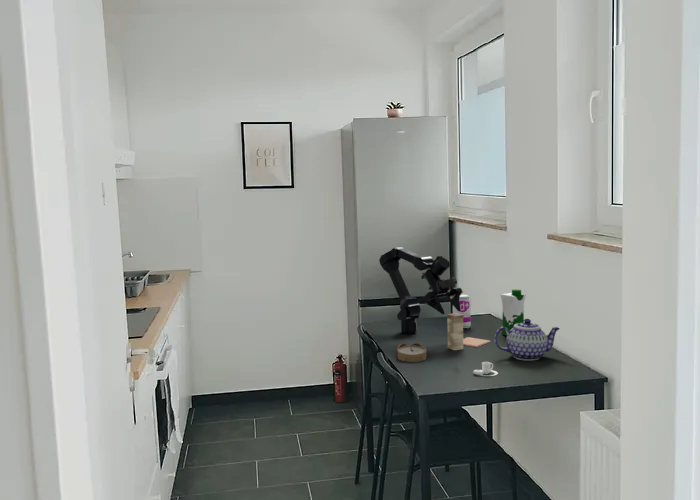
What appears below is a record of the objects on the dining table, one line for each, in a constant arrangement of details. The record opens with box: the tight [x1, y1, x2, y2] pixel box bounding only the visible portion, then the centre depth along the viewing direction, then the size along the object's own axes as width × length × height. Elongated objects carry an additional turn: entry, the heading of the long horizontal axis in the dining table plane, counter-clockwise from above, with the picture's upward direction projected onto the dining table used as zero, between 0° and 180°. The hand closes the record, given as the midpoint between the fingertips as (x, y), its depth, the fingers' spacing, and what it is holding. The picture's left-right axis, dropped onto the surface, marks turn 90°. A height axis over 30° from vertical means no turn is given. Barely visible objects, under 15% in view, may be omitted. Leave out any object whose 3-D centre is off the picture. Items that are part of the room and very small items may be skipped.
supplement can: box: [452, 293, 472, 329], centre depth 308 cm, size 8×8×15 cm
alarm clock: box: [396, 342, 427, 363], centre depth 259 cm, size 11×5×15 cm
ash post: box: [446, 312, 464, 351], centre depth 270 cm, size 5×5×14 cm
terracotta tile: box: [463, 336, 491, 348], centre depth 279 cm, size 11×11×1 cm
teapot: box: [493, 318, 561, 361], centre depth 254 cm, size 25×15×15 cm, turn 89°
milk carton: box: [500, 289, 526, 336], centre depth 291 cm, size 9×9×20 cm
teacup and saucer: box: [472, 361, 499, 377], centre depth 235 cm, size 9×8×4 cm
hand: (451, 312), depth 277 cm, fingers open, 9 cm apart
